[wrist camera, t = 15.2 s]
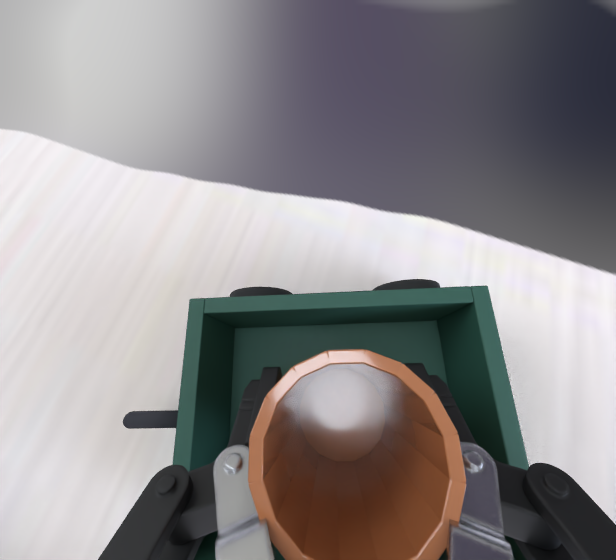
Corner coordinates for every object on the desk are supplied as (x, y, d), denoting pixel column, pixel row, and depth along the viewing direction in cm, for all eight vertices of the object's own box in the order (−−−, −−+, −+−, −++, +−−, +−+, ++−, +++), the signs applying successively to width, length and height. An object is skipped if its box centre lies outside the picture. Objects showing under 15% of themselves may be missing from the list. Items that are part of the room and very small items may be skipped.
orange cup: (294, 467, 16) (243, 593, 7) (293, 363, 17) (251, 352, 8) (395, 466, 15) (487, 599, 6) (384, 360, 17) (444, 345, 8)
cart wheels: (151, 541, 17) (91, 597, 12) (178, 306, 21) (140, 290, 17) (466, 544, 15) (517, 607, 11) (427, 295, 20) (452, 274, 16)
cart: (217, 518, 17) (158, 593, 11) (229, 319, 20) (189, 298, 15) (477, 519, 16) (560, 602, 10) (441, 311, 19) (488, 285, 14)
